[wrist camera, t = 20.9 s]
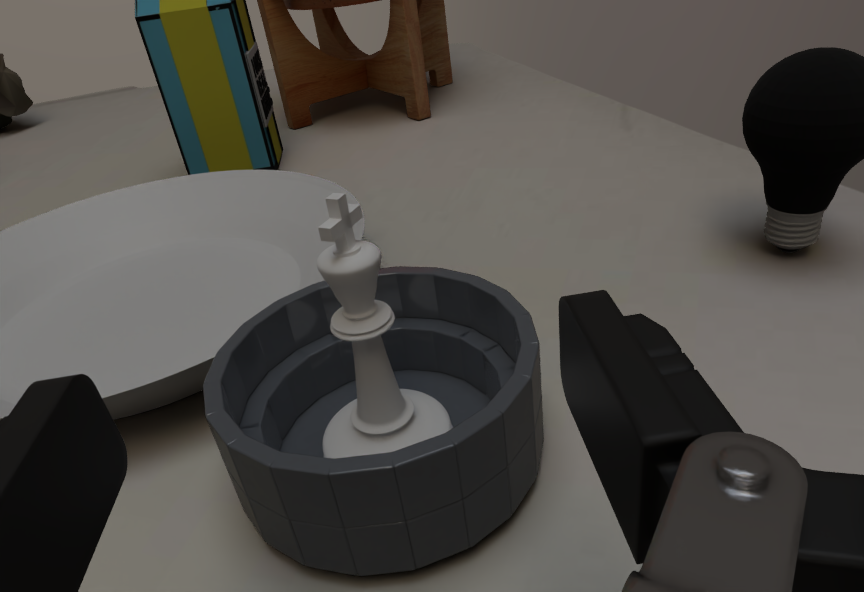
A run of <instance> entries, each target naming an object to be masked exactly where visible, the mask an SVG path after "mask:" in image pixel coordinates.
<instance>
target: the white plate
mask: <svg viewBox="0 0 864 592" xmlns="http://www.w3.org/2000/svg"><path fill="white" fill-rule="evenodd" d="M332 193H343V194H346V198H347V203H348V204H359V205H360V203H359V202H358V200H357V199H356V198H355V197H354V196H353V195H352V194H351V193H350V192H349V191H348V190H346V189H345V188H343V187H342V186H340V185H338V184H336V183H334V182H332V181H329V180H326V179H324V178H320V177H317V176H313V175H309V174H304V173H298V172H290V171H280V170H231V171H218V172H208V173H200V174H192V175H186V176H179V177H173V178H168V179H163V180H157V181H153V182H148V183H143V184H139V185H135V186H130V187H126V188H122V189H119V190H115V191H111V192H107V193H104V194H100V195H97V196H93V197H90V198H87V199H84V200H81V201H77V202H74V203H71V204H68V205H65V206H62V207H60V208H57V209H54V210H51V211H48V212H46V213H43V214H41V215H38V216H35V217H33V218H30V219H28V220H25V221H23V222H20V223H18V224H16V225H13V226H11V227H9V228H6V229H4V230H2V231H0V420H1V419H2V418H4V417H5V416H8V415H9V414H10V413H11V411H12V410H13V408H14V407H15V405H16V404H17V402H18V401H19V400H20V398H21V397H22V395H23V394H24V392H25V391H26V390H27V388H28V387H29V386H30V385H31V384H32V383H33V382H36V381H40V380H46V379H52V378H59V377H65V376H71V375H77V374H85V375H87V376H88V377H89V378H91V380H92V381H93V382H94V384H95V386H96V388H97V390H98V391H99V393H100V395H101V397H102V399H103V401H104V403H105V405H106V407H107V409H108V411H109V413H110V415H111V417H112V419H113V420H114V419H119V418H123V417H127V416H131V415H135V414H139V413H142V412H146V411H149V410H152V409H155V408H158V407H161V406H164V405H167V404H170V403H173V402H175V401H178V400H181V399H183V398H186V397H188V396H190V395H193V394H195V393H197V392H200V391H202V390H203V385H204V381H205V378H206V376H207V374H208V371H209V369H210V367H211V364H212V362H213V360H214V357H215V355H216V353H217V352H218V350H219V349H220V348H221V347H222V346H223V345H224V344H225V342H226V341H227V340H228V339H229V338H230V337H231V336H232V335H233V334H234V333H235V331H236V330H237V329H238V328H239V327H240V326H241V325H243V323H244V322H246V321H247V320H249V319H250V318H252V317H253V316H255V315H256V314H257V313H259V312H260V311H262V310H263V309H265V308H266V307H268V306H269V305H270V304H272V303H273V302H275V301H277V300H279V299H281V298H283V297H285V296H287V295H290V294H292V293H294V292H296V291H298V290H301V289H303V288H305V287H307V286H309V285H312V284H315V283H317V282H321V281H325V280H324V279H323V277H322V275H321V274H320V272H319V270H318V268H317V259H318V257H319V255H320V254H321V253H322V252H323V251H324V250H325V249H327V248H328V247H330V246H332V245H334V244H335V241H334V242H327V241H321V238H320V234H319V230H318V227H319V226H320V225H322V224H323V223H324V222H326V221H327V220H328V219H329V213H328V209H327V204H326V200H325V198H327V197H328V196H330V195H331V194H332ZM360 206H361V205H360ZM361 211H362V216H363V218H362V219H360V220H359V221H358V222H357V223H356V224H354V225H353V226H352V227H353V232H354V237H355V240H361V239H362V236H363V232H364V226H365V218H364V212H363V209H362V207H361Z"/></svg>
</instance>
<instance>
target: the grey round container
mask: <svg viewBox="0 0 864 592" xmlns="http://www.w3.org/2000/svg"><path fill="white" fill-rule="evenodd" d="M374 300H380V301H383V302H385V303H387V304H388V305H389V306H390V307H391V310H392V311H393V313H394V315H395V320H394V323H393V325H392V326H391V327H390V328H389V329H388V330H387V331H386V332H385V333H383V334H382V335H381V338H382V341H383V344H384V347H385V350H386V353H387V356H388V359H389V362H390V364H391V367H392V370H393V373H394V375H395V378H396V381H397V384H398V386H399V389H410V390H415V391H419V392H422V393H425V394H427V395H429V396H431V397H433V398H434V399H436V400H437V401H438V402H440V403H441V404H442V405H443V407H444V408H445V409H446V411H447V413H448V415H449V417H450V421H451V424H452V426H453V428H452V429H451V430H449V431H448V432H446V433H444V434H441V435H438V436H436V437H433V438H430V439H427V440H424V441H421V442H419V443H416V444H413V445H410V446H407V447H404V448H402V449H399V450H396V451H393V452H388V453H379V454H370V455H362V456H353V457H345V458H336V459H333V458H325V457H324V453H323V445H322V444H323V436H324V433H325V430H326V428H327V426H328V424H329V422H330V421H331V419H332V418H333V417H334V416H335V415H336V413H338V412H339V411H340V410H341V409H342V408H343V407H344V406H346V405H347V404H349V403H350V402H352V401H353V400H355V399H357V389H356V376H355V364H354V356H353V348H352V341H345V340H341V339H339V338H337V337H335V336H334V335H333V334H332V332H331V329H330V325H331V318H332V316H333V314H334V313H335V312H336V311H337V310H338V309H339V308H341V307H342V305H341V304H340V302H339V301H338V300H337V298H336V297H335V295H334V293H333V291H332V289H331V288H330V286H329V285H328V283H327V282H326V281H321V282H317V283H315V284H312V285H309V286H307V287H305V288H303V289H301V290H298V291H296V292H294V293H292V294H290V295H287V296H285V297H283V298H281V299H279V300H277V301H275V302H273V303H272V304H270V305H269V306H268V307H266V308H265V309H263V310H262V311H260V312H259V313H257V314H256V315H255V316H253V317H252V318H250V319H249V320H247V321H246V322H244V323H243V325H241V326H240V327H239V328H238V329H237V330H236V331H235V333H234V334H233V335H232V336H231V337H230V338H229V339H228V340H227V341H226V342H225V344H224V345H223V346H222V347H221V348H220V349H219V350H218V352H217V353H216V355H215V357H214V360H213V362H212V364H211V367H210V369H209V371H208V374H207V376H206V378H205V381H204V385H203V392H204V405H205V417H206V419H207V422H208V424H209V427H210V429H211V432H212V434H213V436H214V439H215V441H216V444H217V446H218V449H219V451H220V454H221V456H222V459H223V461H224V463H225V466H226V468H227V470H228V473H229V475H230V478H231V480H232V483H233V485H234V488H235V490H236V493H237V495H238V497H239V500H240V502H241V505H242V507H243V510H244V512H245V513H246V515H247V516H248V518H249V519H250V521H251V522H252V524H253V525H254V527H255V528H256V529H257V531H258V532H259V534H260V535H261V537H262V538H263V540H264V541H265V542H267V544H269V545H271V546H272V547H274V548H276V549H277V550H279V551H281V552H282V553H284V554H286V555H287V556H289V557H291V558H292V559H294V560H296V561H297V562H299V563H301V564H302V565H306V566H308V567H312V568H317V569H323V570H328V571H333V572H339V573H344V574H349V575H355V576H356V575H358V576H366V575H375V574H385V573H394V572H403V571H412V570H415V569H416V568H417V569H418V568H421V567H424V566H426V565H429V564H431V563H434V562H436V561H439V560H441V559H444V558H446V557H449V556H451V555H454V554H456V553H459V552H461V551H464V550H466V549H468V548H469V547H470V548H471V547H473V546H474V545H475V544H477V543H478V542H479V541H480V540H482V539H483V538H484V537H486V536H487V535H488V534H489V533H491V532H492V531H493V530H494V529H496V528H497V527H498V526H500V525H501V524H502V523H503V522H505V521H506V520H507V519H509V518H510V517H511V514H513V513H514V511H515V510H516V508H517V507H518V505H519V504H520V502H521V501H522V499H523V498H524V496H525V495H526V493H527V492H528V490H529V489H530V487H531V485H532V484H533V482H534V481H535V479H536V476H537V474H538V469H539V464H540V458H541V453H542V448H543V442H544V433H543V411H542V390H541V369H540V347H539V340H538V337H537V334H536V331H535V327H534V324H533V321H532V317H531V315H530V314H529V312H528V311H527V310H526V309H525V308H524V307H523V306H522V305H521V304H520V303H519V302H518V301H517V300H516V299H515V298H514V297H513V296H512V295H511V294H510V293H509V292H508V291H507V290H505V289H503V288H501V287H499V286H497V285H495V284H493V283H491V282H489V281H487V280H485V279H483V278H481V277H478V276H475V275H471V274H466V273H462V272H457V271H452V270H448V269H443V268H436V267H403V266H400V267H389V268H381V269H379V272H378V278H377V290H376V294H375V299H374Z"/></svg>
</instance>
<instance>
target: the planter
mask: <svg viewBox="0 0 864 592" xmlns="http://www.w3.org/2000/svg"><path fill="white" fill-rule="evenodd" d="M374 1H379V0H257V2H258V6H259V9H260V14H261V17H262V21H263V25H264V29H265V33H266V37H267V41H268V45H269V49H270V54H271V58H272V61H273V66H274V70H275V74H276V78H277V82H278V86H279V90H280V94H281V99H282V103H283V107H284V111H285V115H286V119H287V123H288V126H289V127H290V128H293V129H298V128H301V127H305V126H308V125H311V124H312V118H311V114H310V109H309V106H310V105H311V104H313V103H317V102H320V101H324V100H327V99H331V98H334V97H338V96H341V95H345V94H348V93H352V92H355V91H359V90H363V89H366V88H373V89H377V90H381V91H384V92H388V93H392V94H396V95H399V96H403V97H404V98H405V102H406V108H407V115H408V117H409V118H412V119H416V120H421V119H425V118H428V117H430V116H431V113H430V105H429V96H428V89H427V81H426V73H425V72H427V71H429V77H430V84H431V85H432V86H437V87H440V86H443V85H446V84H450V83H452V72H451V62H450V53H449V44H448V34H447V25H446V16H445V6H444V0H390V19H389V28H388V33H387V37H386V40H385V43H384V45H383V47H382V49H381V50H380V51H378V52H376V53H374V54H372V55H368V54H365V53H364V52H362V51H361V50H359V49H358V48H357V47H356V46H355V45H354V44H353V43H352V42H351V40H350V39H349V38H348V36H347V35H346V33H345V31H344V30H343V27H342V26H341V24H340V22H339V20H338V17H337V15H336V12H335V10H334V7H342V6H349V5H356V4H363V3H368V2H374ZM287 9H291V10H311V9H312V12H313V17H314V22H315V27H316V32H317V37H318V41H319V46H320V50H319V49H318V48H317V47H315V46H314V45H313V44H312V43H310V42H309V41H308V40H307V39H306V38H305V36H304V35H303V34H302V33H301V31H300V30H299V29H298V27H297V26H296V24H295V23H294V21H293V19H292V17H291V16H290V14H289V12H288V10H287Z"/></svg>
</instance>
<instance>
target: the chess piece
mask: <svg viewBox="0 0 864 592" xmlns="http://www.w3.org/2000/svg"><path fill="white" fill-rule="evenodd" d="M325 200H326V204H327V209H328V213H329V219H328V220H327V221H326V222H324V223H323V224H322V225H320V226H319V227H318V230H319V234H320V238H321V241H327V242H334V241H335V244H334V245H332V246H330V247H328V248H327V249H325V250H324V251H323V252H322V253H321V254H320V255H319V257H318V259H317V268H318V270H319V272H320V274H321V275H322V277H323V279H324V280H325V281H326V282H327V283H328V285H329V286H330V288H331V289H332V291H333V293H334V295H335V297H336V298H337V300H338V301H339V302H340V304H341V305H342V307H341V308H339V309H338V310H337V311H336V312H335V313H334V314H333V316H332V318H331V325H330V329H331V332H332V334H333V335H334V336H335V337H337V338H339V339H341V340H345V341H352V348H353V356H354V364H355V376H356V389H357V399H355V400H353V401H352V402H350V403H349V404H347V405H346V406H344V407H343V408H342V409H341V410H340V411H339V412H338V413H336V415H335V416H334V417H333V418H332V419H331V421H330V422H329V424H328V426H327V428H326V430H325V433H324V436H323V444H322V445H323V453H324V457H325V458H333V459H336V458H345V457H353V456H362V455H370V454H379V453H388V452H393V451H396V450H399V449H402V448H404V447H407V446H410V445H413V444H416V443H419V442H421V441H424V440H427V439H430V438H433V437H436V436H438V435H441V434H444V433H446V432H448V431H449V430H451V429H452V428H453V426H452V424H451V421H450V417H449V415H448V413H447V411H446V409H445V408H444V407H443V405H442V404H441V403H440V402H438V401H437V400H436V399H434V398H433V397H431V396H429V395H427V394H425V393H422V392H419V391H415V390H410V389H399V386H398V384H397V381H396V378H395V375H394V373H393V370H392V367H391V364H390V362H389V359H388V356H387V353H386V350H385V347H384V344H383V341H382V338H381V335H382V334H383V333H385V332H386V331H387V330H388V329H389V328H390V327H391V326H392V325H393V323H394V320H395V315H394V313H393V311H392V310H391V307H390V306H389V305H388V304H387V303H385V302H383V301H380V300H374V299H375V294H376V290H377V278H378V272H379V269H380V263H381V251H380V249H379V248H378V247H377V246H376V245H375V244H373V243H371V242H368V241H364V240H355V237H354V232H353V227H352V226H353V225H354V224H356V223H357V222H358V221H359V220H360V219H362V218H363V216H362V211H361V206H360V205H359V204H348V203H347V198H346V194H343V193H332V194H331V195H330V196H328V197H327V198H325Z"/></svg>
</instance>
